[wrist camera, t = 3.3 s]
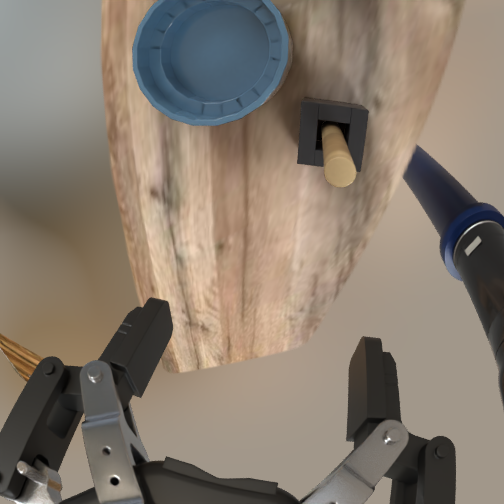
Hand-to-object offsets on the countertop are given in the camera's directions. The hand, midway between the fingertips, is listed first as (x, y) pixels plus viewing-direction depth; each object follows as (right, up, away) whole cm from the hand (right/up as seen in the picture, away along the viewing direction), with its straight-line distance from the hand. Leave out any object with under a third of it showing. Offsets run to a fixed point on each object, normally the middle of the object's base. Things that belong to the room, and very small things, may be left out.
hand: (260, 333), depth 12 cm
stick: (+8, +16, +18) cm, 25 cm away
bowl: (-4, +24, +15) cm, 29 cm away
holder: (+8, +16, +18) cm, 25 cm away
